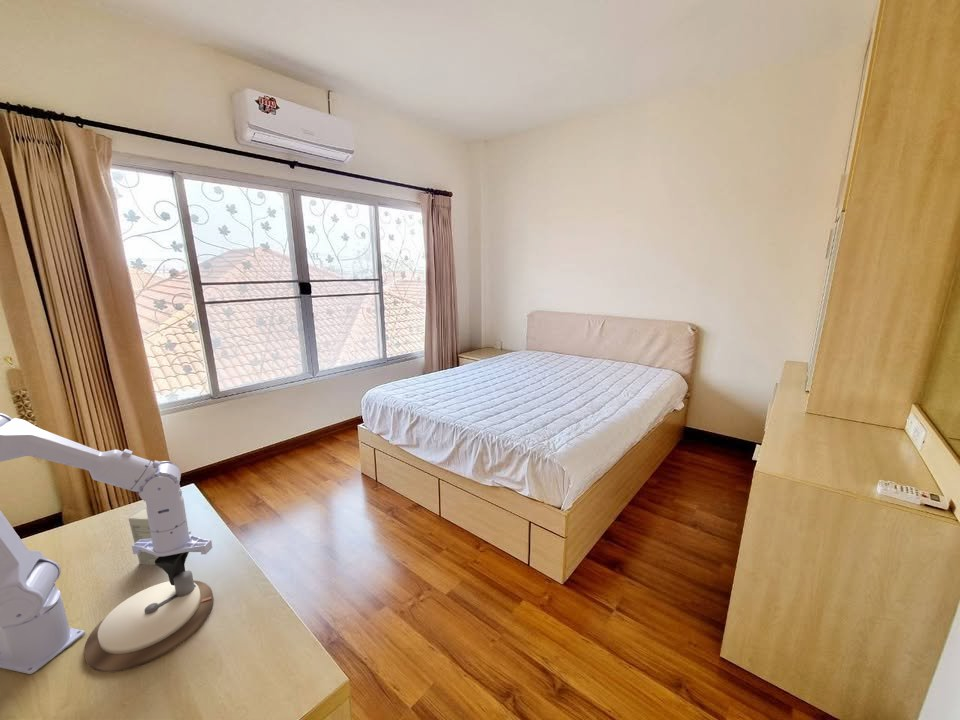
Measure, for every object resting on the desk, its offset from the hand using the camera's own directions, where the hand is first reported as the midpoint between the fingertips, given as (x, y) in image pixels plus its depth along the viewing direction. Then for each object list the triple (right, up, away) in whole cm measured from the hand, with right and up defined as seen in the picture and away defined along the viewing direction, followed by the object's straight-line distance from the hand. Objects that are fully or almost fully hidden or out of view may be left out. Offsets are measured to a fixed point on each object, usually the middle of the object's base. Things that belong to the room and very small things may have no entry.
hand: (178, 581), depth 79 cm
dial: (-1, -4, -5) cm, 6 cm away
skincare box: (-15, -2, +13) cm, 19 cm away
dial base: (-1, -5, -5) cm, 7 cm away
